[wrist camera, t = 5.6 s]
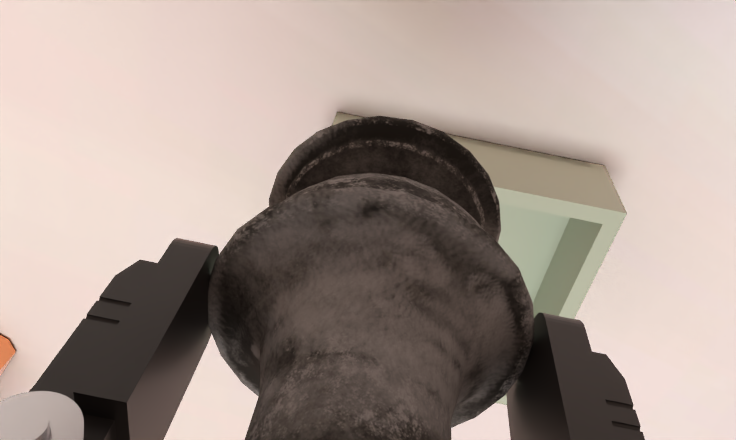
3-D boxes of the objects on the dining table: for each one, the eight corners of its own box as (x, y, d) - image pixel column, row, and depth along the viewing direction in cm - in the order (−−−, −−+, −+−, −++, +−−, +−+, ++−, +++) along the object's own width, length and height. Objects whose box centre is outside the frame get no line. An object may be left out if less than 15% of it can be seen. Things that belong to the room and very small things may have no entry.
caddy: (337, 111, 31) (322, 152, 27) (604, 165, 31) (627, 213, 27) (307, 310, 38) (292, 362, 35) (520, 352, 38) (528, 409, 35)
